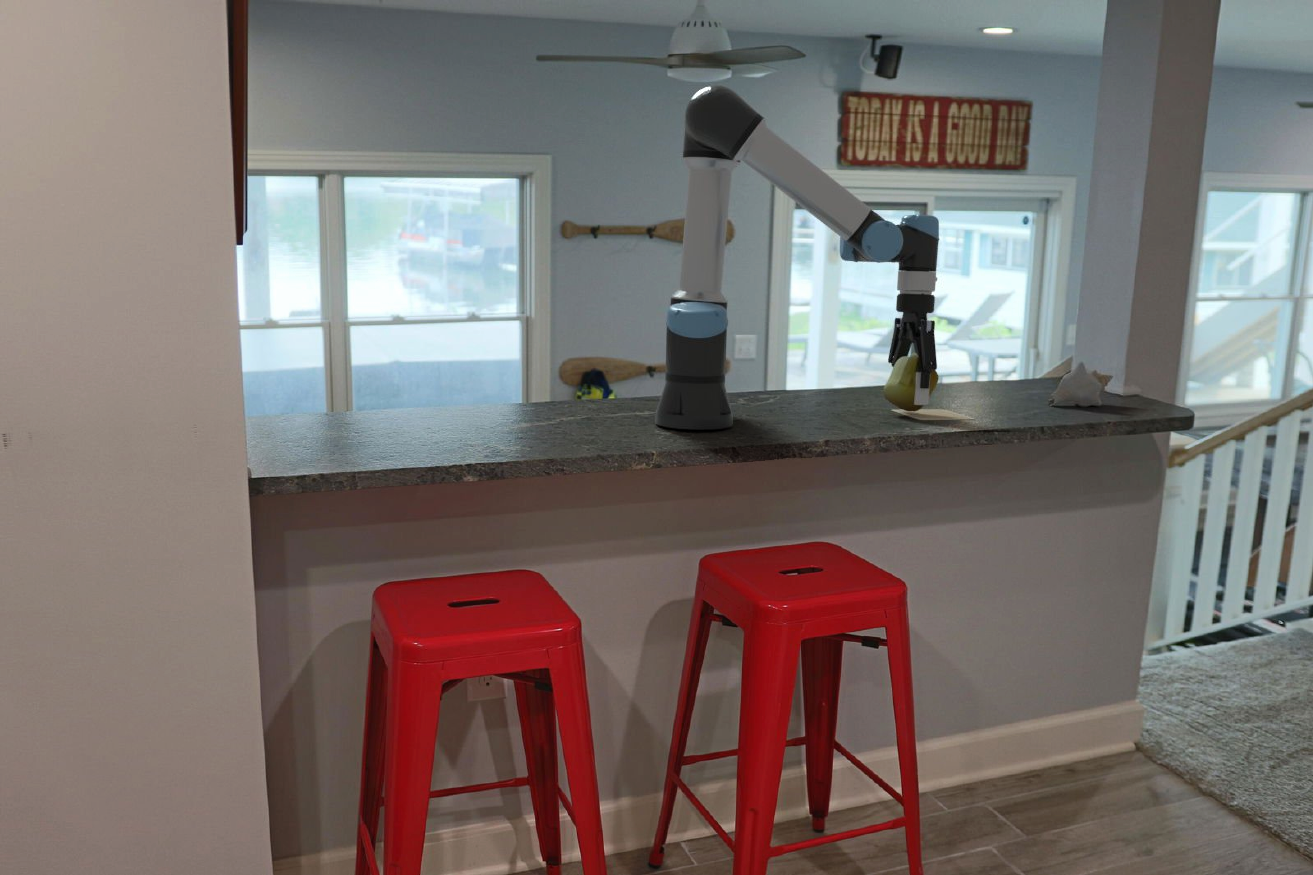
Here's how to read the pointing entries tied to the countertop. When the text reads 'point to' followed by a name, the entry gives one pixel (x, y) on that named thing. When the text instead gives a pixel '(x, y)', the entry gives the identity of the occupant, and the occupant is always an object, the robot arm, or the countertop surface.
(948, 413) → the mat
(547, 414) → the countertop surface
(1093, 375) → the seashell
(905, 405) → the mug
